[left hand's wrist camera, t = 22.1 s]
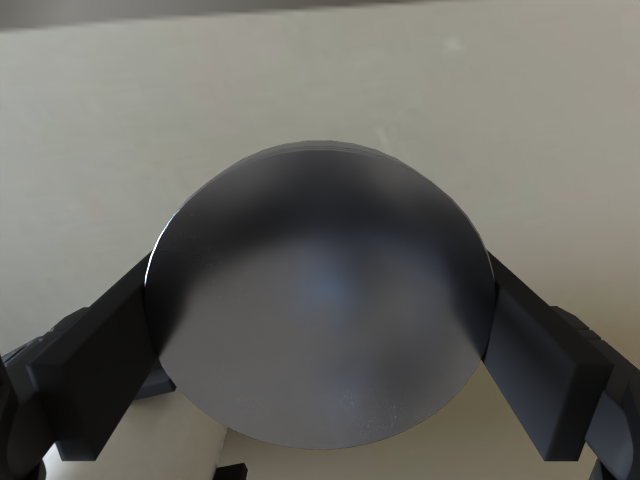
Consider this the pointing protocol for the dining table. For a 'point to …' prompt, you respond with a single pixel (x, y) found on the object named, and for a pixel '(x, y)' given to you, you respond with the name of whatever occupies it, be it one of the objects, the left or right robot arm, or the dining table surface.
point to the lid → (319, 296)
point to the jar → (152, 445)
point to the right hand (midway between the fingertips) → (213, 431)
